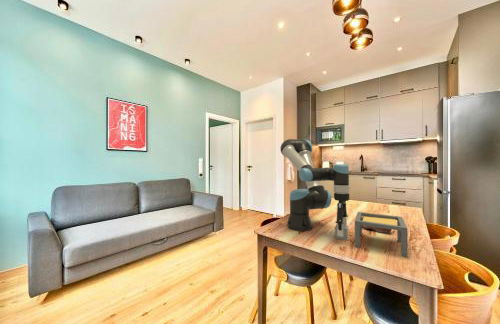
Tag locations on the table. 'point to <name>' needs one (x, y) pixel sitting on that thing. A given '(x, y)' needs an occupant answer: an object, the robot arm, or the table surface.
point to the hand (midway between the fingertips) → (342, 232)
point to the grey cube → (345, 233)
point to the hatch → (380, 220)
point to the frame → (401, 227)
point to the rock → (377, 228)
